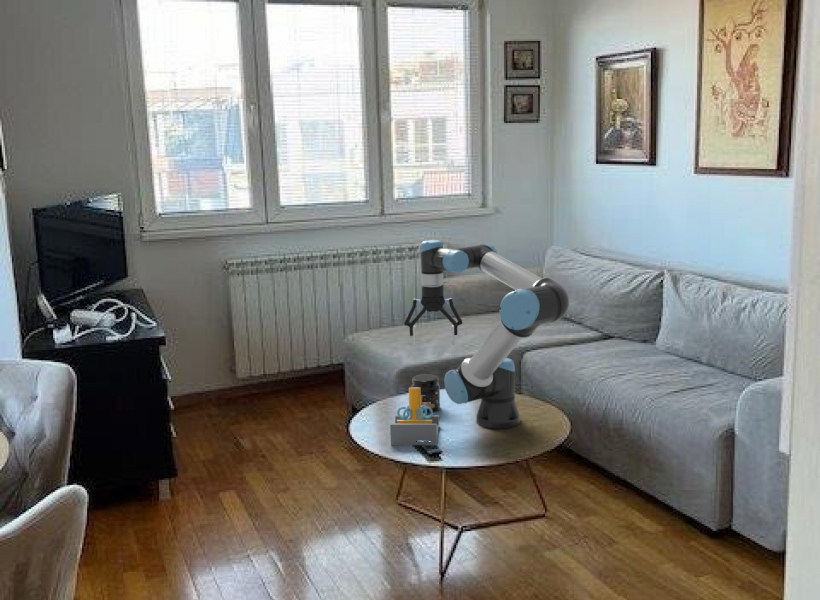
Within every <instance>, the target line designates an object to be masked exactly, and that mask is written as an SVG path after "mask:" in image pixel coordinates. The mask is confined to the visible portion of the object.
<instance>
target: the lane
mask: <svg viewBox="0 0 820 600" xmlns="http://www.w3.org/2000/svg"><path fill="white" fill-rule="evenodd" d="M406 415H407V414H405V416H406ZM400 416H402V417H403V414H402V415H401V414H400ZM429 416H430V414H428V415H427V414H426V416H425V417H429ZM394 419H395V420H394V421H395V422H394V423H392V422H391V423H389V426H390V427H389V429H390V433H389V434H390V446H437V445H438V440H439V439H438V438H439V437H438V435H439V430H440V429H439V428H440V415H438V414H437V415H434V414H433V416H432V417H431V418H430V419H424V418H423V419H424V420H432V423H397V420H405V419H401V418H399V417H398V415H397V414H396V415H394ZM417 440H429V441H431V442H416V441H417ZM426 443H427V444H426ZM425 444H426V445H425Z"/></svg>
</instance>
